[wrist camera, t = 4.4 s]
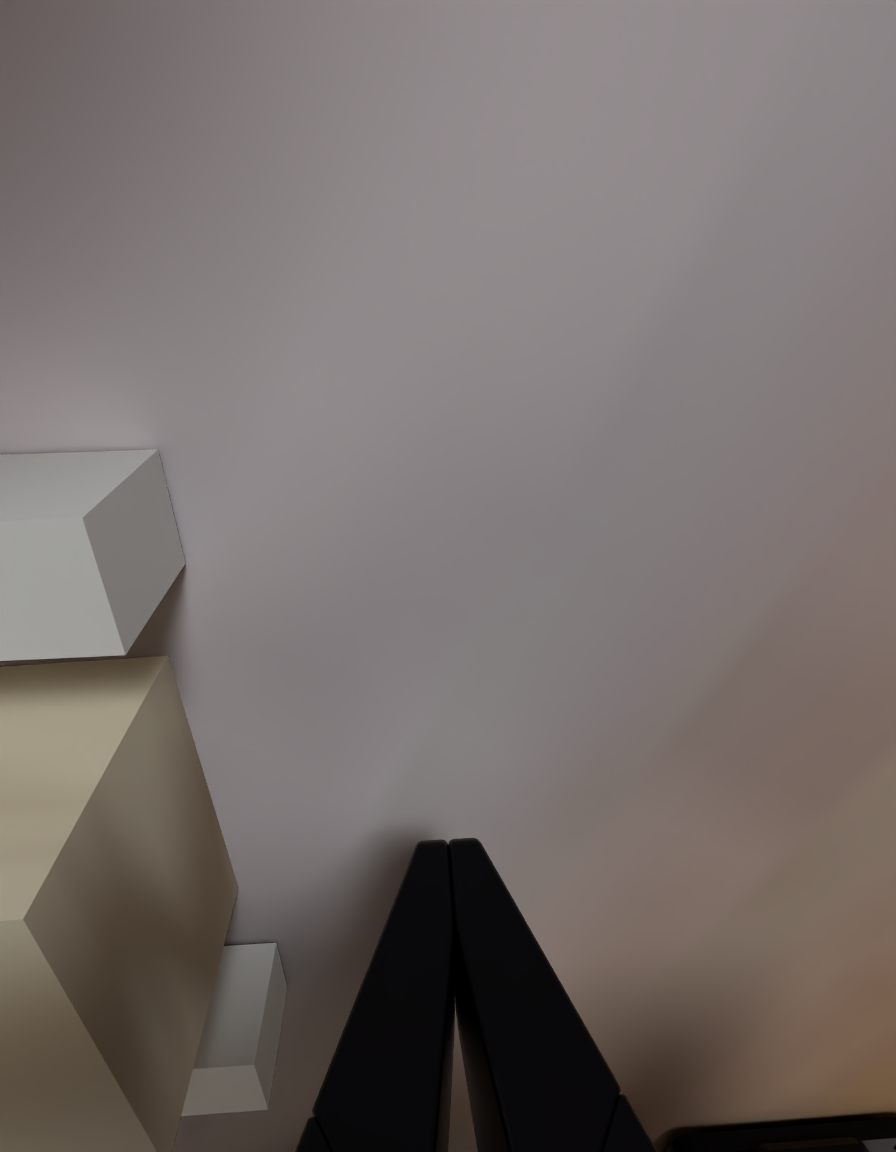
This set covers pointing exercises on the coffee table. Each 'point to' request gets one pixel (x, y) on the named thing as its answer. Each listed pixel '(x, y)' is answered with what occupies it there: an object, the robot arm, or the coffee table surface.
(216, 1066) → the channel
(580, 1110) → the robot arm
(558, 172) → the coffee table surface
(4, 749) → the birch block
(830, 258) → the coffee table surface
